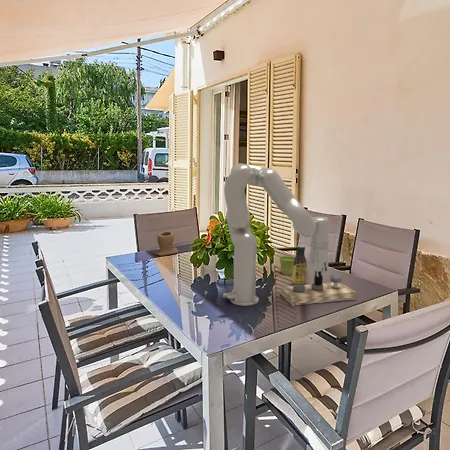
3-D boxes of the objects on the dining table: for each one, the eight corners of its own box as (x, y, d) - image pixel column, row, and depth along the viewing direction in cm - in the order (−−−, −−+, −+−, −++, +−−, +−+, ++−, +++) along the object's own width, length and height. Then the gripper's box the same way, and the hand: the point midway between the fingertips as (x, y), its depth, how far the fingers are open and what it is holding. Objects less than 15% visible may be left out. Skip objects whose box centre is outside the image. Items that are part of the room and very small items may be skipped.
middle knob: (314, 299, 180) (314, 287, 179) (309, 295, 185) (309, 283, 184) (325, 298, 181) (325, 286, 180) (319, 295, 186) (320, 282, 185)
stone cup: (160, 258, 252) (159, 234, 249) (153, 254, 262) (152, 231, 259) (182, 254, 259) (182, 232, 257) (174, 251, 269) (174, 229, 267)
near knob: (295, 301, 178) (295, 288, 177) (290, 297, 183) (291, 284, 182) (306, 300, 179) (306, 287, 178) (301, 296, 184) (302, 284, 183)
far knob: (333, 291, 181) (333, 278, 180) (327, 287, 186) (328, 275, 185) (343, 290, 182) (344, 277, 181) (337, 286, 187) (338, 274, 186)
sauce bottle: (295, 288, 196) (296, 248, 192) (290, 284, 202) (291, 245, 198) (307, 286, 198) (309, 247, 194) (302, 282, 204) (303, 244, 200)
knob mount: (292, 306, 173) (292, 297, 172) (280, 295, 186) (280, 286, 185) (355, 300, 180) (355, 291, 179) (339, 290, 193) (339, 282, 192)
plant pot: (295, 271, 224) (295, 256, 222) (296, 276, 214) (297, 260, 213) (278, 270, 225) (278, 255, 223) (278, 275, 215) (279, 260, 214)
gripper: (304, 241, 185) (303, 280, 188) (319, 249, 171) (318, 290, 174) (319, 240, 187) (318, 279, 190) (335, 248, 172) (334, 289, 175)
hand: (318, 284), depth 182 cm, fingers closed
